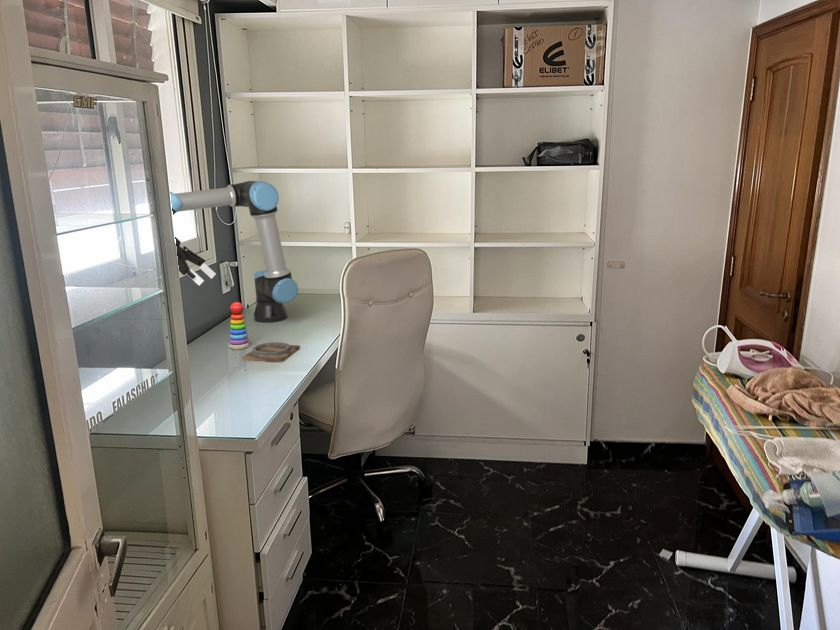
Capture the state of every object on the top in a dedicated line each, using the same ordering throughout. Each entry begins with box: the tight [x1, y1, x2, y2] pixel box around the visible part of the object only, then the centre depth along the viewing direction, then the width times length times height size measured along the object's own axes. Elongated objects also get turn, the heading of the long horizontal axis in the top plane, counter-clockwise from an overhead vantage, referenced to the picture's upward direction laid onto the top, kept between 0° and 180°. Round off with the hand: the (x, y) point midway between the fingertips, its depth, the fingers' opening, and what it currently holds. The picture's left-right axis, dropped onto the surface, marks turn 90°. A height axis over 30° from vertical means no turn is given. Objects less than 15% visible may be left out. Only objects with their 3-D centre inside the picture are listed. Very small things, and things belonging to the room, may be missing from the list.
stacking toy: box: [228, 301, 250, 351], centre depth 258 cm, size 8×8×19 cm
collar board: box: [241, 341, 301, 363], centre depth 250 cm, size 18×16×3 cm
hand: (208, 279), depth 253 cm, fingers open, 13 cm apart
